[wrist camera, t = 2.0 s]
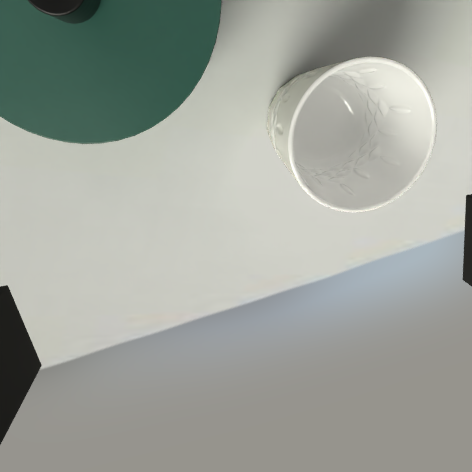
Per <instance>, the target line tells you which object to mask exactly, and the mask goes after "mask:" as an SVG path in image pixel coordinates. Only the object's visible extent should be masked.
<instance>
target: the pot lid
mask: <svg viewBox="0 0 472 472" xmlns="http://www.w3.org/2000/svg"><path fill="white" fill-rule="evenodd" d="M221 2H222V0H0V117H2V118H4V119H5V120H7V121H8V122H10V123H12V124H14V125H16V126H18V127H20V128H22V129H24V130H26V131H28V132H31V133H34V134H37V135H40V136H42V137H45V138H49V139H53V140H58V141H63V142H69V143H80V144H94V143H106V142H112V141H118V140H122V139H125V138H128V137H131V136H135V135H137V134H139V133H141V132H143V131H146V130H148V129H150V128H152V127H153V126H155V125H156V124H158V123H159V122H161V121H162V120H164V119H166V118H167V117H168V116H169V115H170V114H171V113H172V112H174V111H175V110H176V109H177V108H178V107H179V106H180V105H181V104H182V103H183V102H184V101H185V99H186V98H187V97H188V96H189V95H190V94H191V92H192V91H193V89H194V88H195V86H196V85H197V83H198V82H199V80H200V79H201V77H202V75H203V73H204V71H205V69H206V67H207V65H208V62H209V60H210V57H211V54H212V51H213V48H214V45H215V43H216V38H217V33H218V28H219V23H220V13H221Z"/></svg>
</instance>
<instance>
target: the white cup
mask: <svg viewBox="0 0 472 472" xmlns="http://www.w3.org/2000/svg"><path fill="white" fill-rule="evenodd" d="M267 131H268V134H269V136H270V139H271V142H272V145H273V147H274V149H275V150H276V152H277V154H278V156H279V157H280V159H281V160H282V162H283V163H284V165H285V166H286V168H287V169H288V170H289V172H290V173H291V174H292V175H293V177H294V178H295V179H296V180H297V182H298V183H299V184H300V185H301V187H302V188H303V189H304V191H305V192H306V193H307V194H308V195H309V196H310V197H312V198H313V199H314V200H315V201H317V202H318V203H320V204H322V205H324V206H326V207H328V208H331V209H334V210H337V211H343V212H364V211H369V210H373V209H376V208H379V207H382V206H384V205H386V204H388V203H390V202H392V201H394V200H395V199H397V198H398V197H400V196H401V195H402V194H403V193H405V192H406V191H407V190H408V189H409V188H410V187H411V186H412V185H413V184H414V183H415V182H416V180H417V179H418V178H419V176H420V175H421V174H422V172H423V170H424V169H425V167H426V165H427V163H428V161H429V159H430V157H431V154H432V151H433V148H434V144H435V139H436V131H437V118H436V111H435V106H434V102H433V99H432V97H431V94H430V92H429V90H428V88H427V87H426V85H425V84H424V82H423V81H422V80H421V79H420V77H419V76H418V75H417V74H416V73H415V72H413V71H412V70H411V69H410V68H408V67H407V66H405V65H403V64H401V63H399V62H397V61H395V60H392V59H388V58H384V57H374V56H370V57H360V58H355V59H351V60H347V61H343V62H339V63H335V64H331V65H327V66H323V67H319V68H317V69H314V70H311V71H308V72H306V73H304V74H301V75H297V76H296V77H294V78H293V79H292V80H290V81H289V82H288V83H286V84H285V85H284V86H282V87H281V88H280V89H279V90H278V92H277V94H276V96H275V98H274V99H273V101H272V103H271V105H270V107H269V112H268V123H267Z"/></svg>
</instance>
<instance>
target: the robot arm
mask: <svg viewBox="0 0 472 472" xmlns="http://www.w3.org/2000/svg"><path fill="white" fill-rule="evenodd" d="M463 280H464V281H465V282H467V283H468V284H469V285H471V286H472V194H471V195H466V214H465V240H464V264H463ZM40 367H41V363H40V361H39V358H38V356H37V353H36V351H35V349H34V346H33V344H32V342H31V339H30V337H29V335H28V332H27V330H26V328H25V325H24V323H23V320H22V318H21V316H20V313H19V311H18V309H17V306H16V304H15V302H14V299H13V297H12V295H11V292H10V290H9V287H8V285H6V286H1V287H0V444H1V442H2V440H3V438H4V437H5V435H6V433H7V431H8V429H9V427H10V425H11V423H12V421H13V419H14V417H15V415H16V413H17V412H18V409H19V408H20V406H21V404H22V402H23V400H24V398H25V396H26V394H27V392H28V390H29V389H30V387H31V384H32V383H33V381H34V379H35V377H36V375H37V373H38V371H39V369H40Z"/></svg>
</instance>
